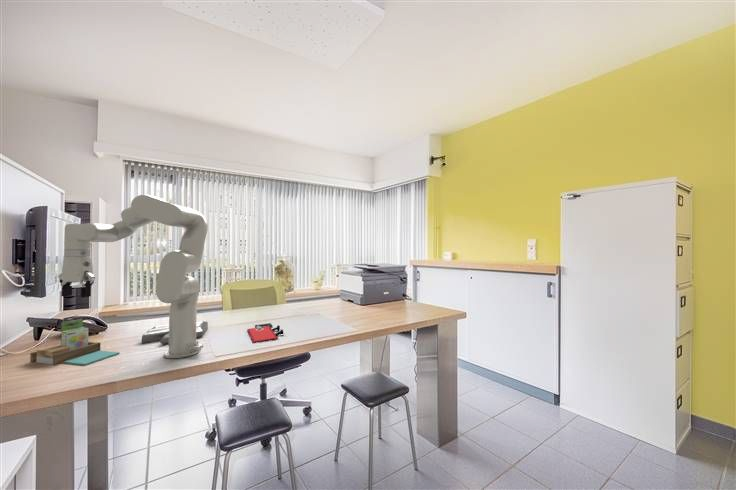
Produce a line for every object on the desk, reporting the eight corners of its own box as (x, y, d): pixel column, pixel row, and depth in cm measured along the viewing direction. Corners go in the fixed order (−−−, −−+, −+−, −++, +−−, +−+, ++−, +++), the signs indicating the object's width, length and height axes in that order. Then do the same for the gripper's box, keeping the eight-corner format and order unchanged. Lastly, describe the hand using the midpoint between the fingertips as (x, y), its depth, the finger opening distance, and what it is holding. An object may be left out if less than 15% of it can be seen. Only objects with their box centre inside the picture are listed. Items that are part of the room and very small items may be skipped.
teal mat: (119, 353, 117) (119, 352, 117) (85, 365, 105) (85, 363, 105) (99, 351, 119) (99, 350, 119) (64, 363, 107) (64, 361, 107)
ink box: (66, 357, 113) (67, 323, 113) (60, 356, 114) (61, 322, 114) (88, 351, 119) (89, 319, 119) (82, 350, 120) (83, 318, 121)
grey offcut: (70, 359, 112) (70, 353, 112) (52, 365, 106) (52, 358, 106) (54, 358, 113) (54, 351, 113) (36, 363, 108) (36, 356, 108)
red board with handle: (274, 324, 166) (245, 328, 158) (274, 319, 166) (245, 322, 158) (286, 339, 139) (253, 344, 132) (286, 333, 139) (252, 338, 132)
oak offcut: (69, 353, 112) (69, 346, 112) (52, 358, 107) (52, 351, 107) (54, 351, 113) (54, 345, 113) (36, 356, 108) (36, 349, 108)
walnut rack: (100, 350, 120) (100, 342, 120) (55, 365, 106) (55, 355, 106) (77, 348, 123) (77, 340, 123) (30, 362, 108) (30, 353, 108)
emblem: (177, 317, 159) (221, 320, 153) (177, 327, 159) (221, 330, 153) (125, 331, 132) (177, 335, 126) (125, 343, 131) (177, 348, 126)
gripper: (104, 254, 119) (103, 295, 119) (71, 253, 123) (70, 294, 122) (83, 254, 112) (82, 298, 112) (49, 254, 115) (47, 297, 115)
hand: (76, 296), depth 117 cm, fingers open, 9 cm apart
